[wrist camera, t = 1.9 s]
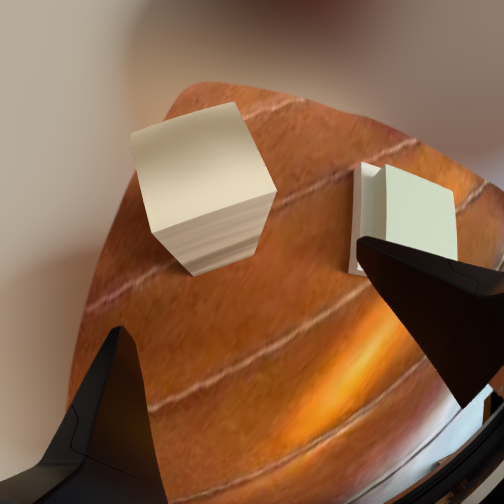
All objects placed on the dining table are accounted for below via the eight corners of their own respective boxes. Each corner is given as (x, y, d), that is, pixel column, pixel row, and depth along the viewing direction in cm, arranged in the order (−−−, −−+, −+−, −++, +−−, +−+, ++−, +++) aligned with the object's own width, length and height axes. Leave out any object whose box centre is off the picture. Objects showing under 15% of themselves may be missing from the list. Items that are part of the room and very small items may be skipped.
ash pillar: (253, 255, 22) (276, 190, 11) (193, 276, 22) (151, 233, 10) (231, 200, 23) (234, 101, 11) (175, 220, 22) (129, 134, 11)
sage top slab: (439, 279, 21) (457, 274, 19) (369, 263, 21) (385, 256, 18) (437, 201, 23) (452, 191, 21) (372, 177, 23) (385, 163, 20)
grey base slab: (430, 289, 23) (445, 286, 21) (345, 274, 23) (357, 269, 21) (429, 199, 26) (442, 190, 23) (351, 174, 25) (361, 161, 23)
